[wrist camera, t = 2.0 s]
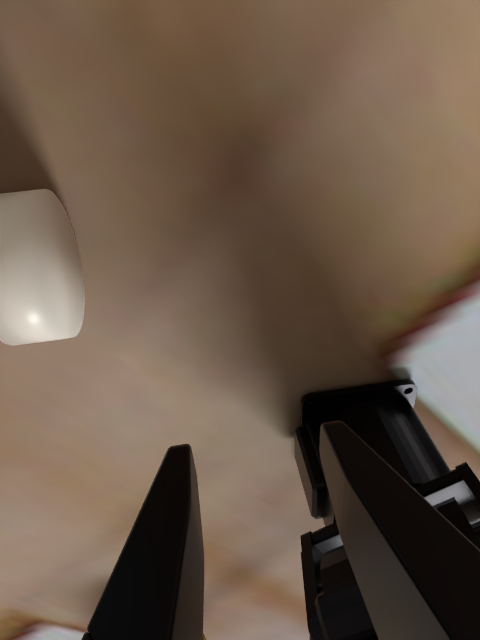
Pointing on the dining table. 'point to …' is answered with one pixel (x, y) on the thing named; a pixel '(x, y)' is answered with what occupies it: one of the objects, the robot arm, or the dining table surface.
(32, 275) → the knob
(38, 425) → the dining table surface
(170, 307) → the dining table surface
